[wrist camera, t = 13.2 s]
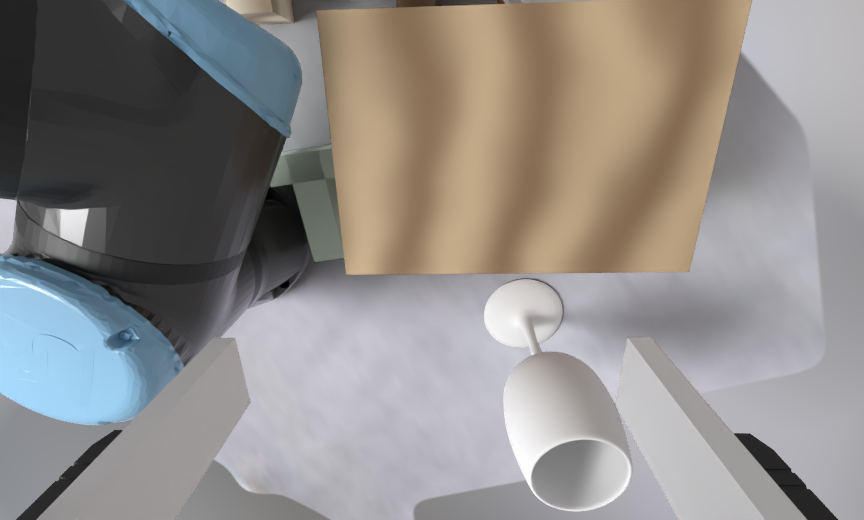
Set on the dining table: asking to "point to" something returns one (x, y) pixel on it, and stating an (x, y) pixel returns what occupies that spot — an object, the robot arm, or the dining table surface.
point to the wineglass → (556, 406)
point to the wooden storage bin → (527, 133)
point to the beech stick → (264, 10)
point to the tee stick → (314, 197)
